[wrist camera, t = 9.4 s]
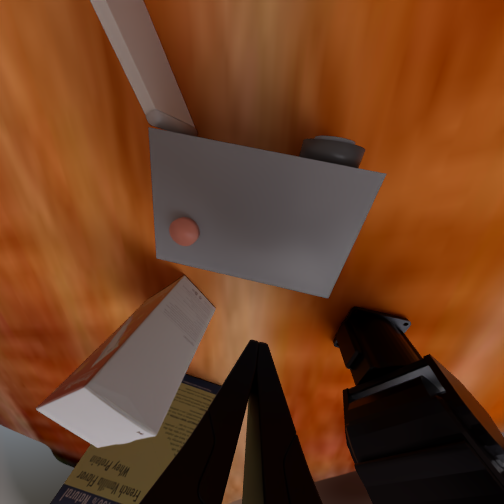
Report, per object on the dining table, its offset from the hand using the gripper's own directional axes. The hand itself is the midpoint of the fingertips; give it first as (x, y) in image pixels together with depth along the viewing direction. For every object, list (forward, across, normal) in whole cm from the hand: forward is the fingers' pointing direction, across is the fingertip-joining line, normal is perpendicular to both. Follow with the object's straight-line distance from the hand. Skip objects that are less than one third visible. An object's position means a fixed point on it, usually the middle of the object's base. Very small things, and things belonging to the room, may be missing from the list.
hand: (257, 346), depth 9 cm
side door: (+12, +11, -13) cm, 21 cm away
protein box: (+12, +9, +32) cm, 35 cm away
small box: (+12, +10, +11) cm, 19 cm away
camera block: (+12, +2, -4) cm, 13 cm away
